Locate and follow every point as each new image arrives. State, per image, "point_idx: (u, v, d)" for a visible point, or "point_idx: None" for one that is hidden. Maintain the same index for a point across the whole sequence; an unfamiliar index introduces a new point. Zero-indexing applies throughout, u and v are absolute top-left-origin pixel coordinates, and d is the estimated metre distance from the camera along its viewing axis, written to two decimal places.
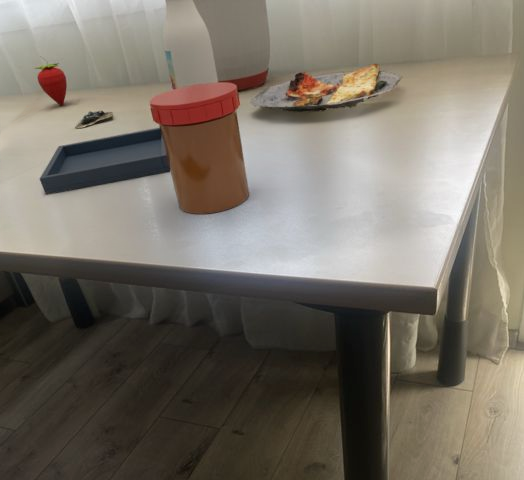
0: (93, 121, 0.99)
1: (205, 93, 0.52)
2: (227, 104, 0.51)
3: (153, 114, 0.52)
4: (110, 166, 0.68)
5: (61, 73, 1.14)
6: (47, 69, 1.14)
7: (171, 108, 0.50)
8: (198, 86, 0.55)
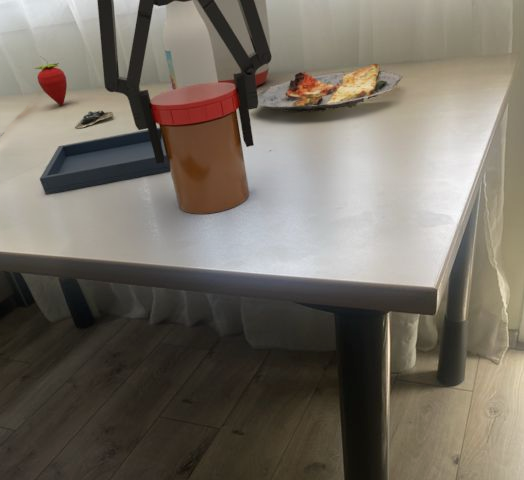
0: (93, 121, 0.99)
1: (205, 93, 0.52)
2: (227, 104, 0.51)
3: (153, 114, 0.52)
4: (110, 166, 0.68)
5: (61, 73, 1.14)
6: (47, 69, 1.14)
7: (171, 108, 0.50)
8: (198, 86, 0.55)
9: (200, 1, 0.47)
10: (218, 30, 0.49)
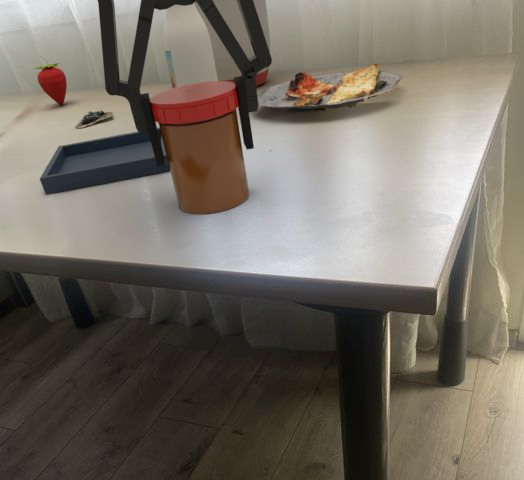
0: (93, 121, 0.99)
1: (206, 87, 0.54)
2: None
3: (201, 111, 0.50)
4: (110, 166, 0.68)
5: (61, 73, 1.14)
6: (47, 69, 1.14)
7: (227, 95, 0.51)
8: (164, 94, 0.54)
9: (201, 5, 0.47)
10: (219, 34, 0.49)
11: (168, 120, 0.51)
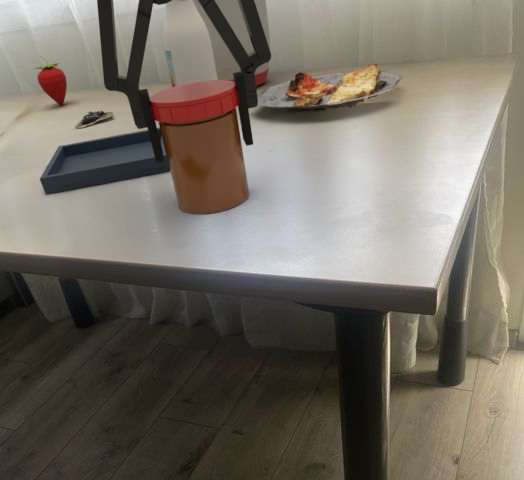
0: (93, 121, 0.99)
1: (185, 89, 0.54)
2: None
3: (237, 94, 0.53)
4: (110, 166, 0.68)
5: (61, 73, 1.14)
6: (47, 69, 1.14)
7: None
8: (174, 99, 0.51)
9: (200, 0, 0.47)
10: (218, 29, 0.49)
11: (225, 108, 0.51)
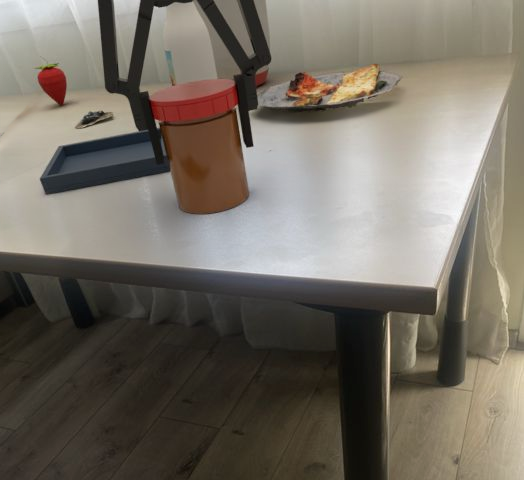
0: (93, 121, 0.99)
1: (175, 93, 0.52)
2: (151, 109, 0.52)
3: None
4: (110, 166, 0.68)
5: (61, 73, 1.14)
6: (47, 69, 1.14)
7: None
8: (215, 90, 0.51)
9: (200, 3, 0.47)
10: (218, 31, 0.49)
11: None
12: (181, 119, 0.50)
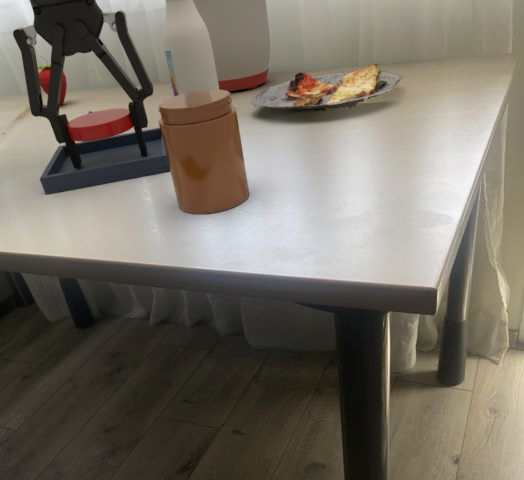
0: None
1: (97, 120, 0.70)
2: (96, 133, 0.69)
3: None
4: (110, 166, 0.68)
5: None
6: (47, 69, 1.14)
7: (67, 127, 0.71)
8: (119, 111, 0.73)
9: (95, 53, 0.66)
10: (111, 72, 0.68)
11: None
12: (128, 129, 0.71)
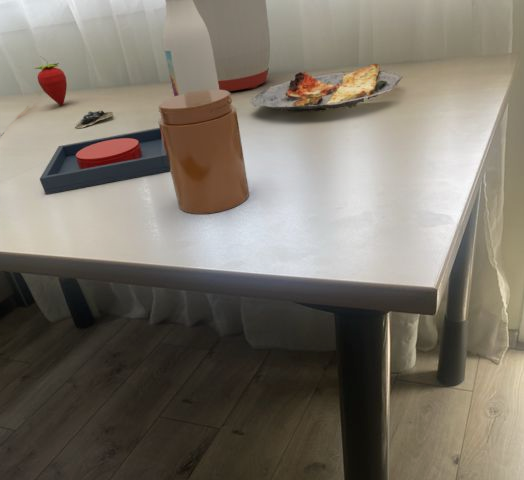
0: (93, 121, 0.99)
1: (106, 151, 0.73)
2: (105, 164, 0.71)
3: None
4: (110, 166, 0.68)
5: (61, 73, 1.14)
6: (47, 69, 1.14)
7: None
8: (127, 141, 0.76)
9: None
10: None
11: None
12: None
